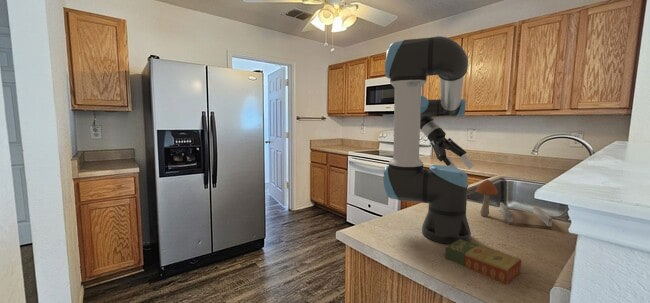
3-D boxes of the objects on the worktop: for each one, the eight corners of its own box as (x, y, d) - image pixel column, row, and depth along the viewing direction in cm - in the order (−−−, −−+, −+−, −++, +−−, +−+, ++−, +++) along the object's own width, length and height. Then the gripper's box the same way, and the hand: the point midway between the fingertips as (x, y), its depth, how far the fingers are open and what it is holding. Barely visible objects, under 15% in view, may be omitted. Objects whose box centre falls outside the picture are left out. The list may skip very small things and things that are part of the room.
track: (508, 224, 105) (509, 214, 104) (499, 211, 120) (500, 202, 119) (551, 229, 100) (552, 218, 100) (535, 215, 115) (536, 205, 115)
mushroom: (493, 213, 117) (495, 178, 116) (499, 219, 110) (502, 182, 108) (472, 211, 119) (474, 177, 118) (477, 218, 112) (479, 181, 110)
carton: (507, 286, 67) (508, 269, 66) (444, 259, 80) (444, 245, 79) (520, 274, 72) (522, 258, 71) (459, 251, 85) (460, 237, 84)
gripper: (443, 136, 141) (471, 170, 131) (412, 139, 126) (441, 178, 116) (453, 126, 136) (484, 160, 126) (423, 127, 121) (454, 167, 111)
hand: (463, 169), depth 121 cm, fingers open, 13 cm apart
